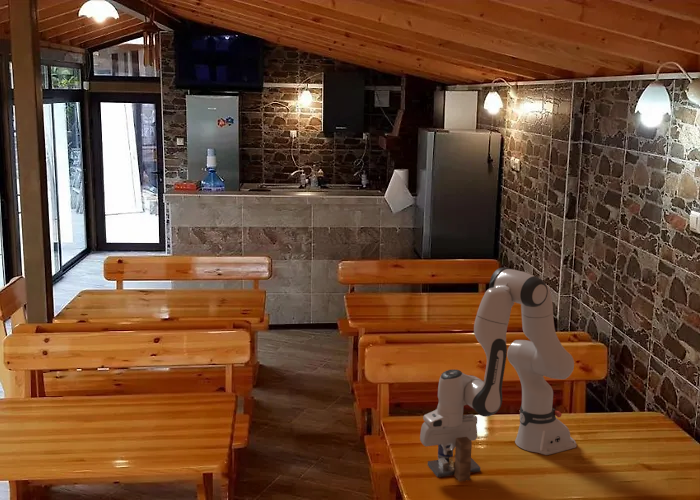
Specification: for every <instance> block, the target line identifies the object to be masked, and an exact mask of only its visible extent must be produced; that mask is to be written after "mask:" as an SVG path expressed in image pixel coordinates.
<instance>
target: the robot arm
mask: <svg viewBox="0 0 700 500" xmlns="http://www.w3.org/2000/svg"><path fill="white" fill-rule="evenodd" d="M488 285H489V286H488V289H487V290H486V291H485V292H484V295H483V296H482V298H481V301H480V303H479V306H478V309H477V312H476V316H475V319H474V322H473V323H474V324H473V334H474V336H475V339H476V340H477V342H478V343H479V344H480V346H481V347H482V349H483V350H484V353H485V356H486V364H485V365H486V366H485V371H484V372H485V373H484V378H483V379H484V380H482V379H481V378H479V377H477V376H475V375H473V374H472V375H471V374H470V375H469V374H465V373H463V372H462V371H461V370H459V369H448V370H445V371H443V372H442V373H441V375H440V377H439V381H438V387H437V398H438V404H437V407H436V408H435V410H433V411H430V412H428V413H425V414H424V415H423V417H422V419H423V423H422V424H421V428H420V435H419V441H420V443H421V444H422V445H423V446H425V447H430V446H431V447H432V446H438V445H441V446H442V447H443V449H444V451H443V453H444V455H450V454H453V455H454V451H455V448H456V438H460V437H468V438H469V439H470V440H471V441H472V442H474V441H476V440H477V438H478V427H477V426H478V417H477V416H476V415H475V414H473V413H471V414H470V413H469V414H464V406H469V407H470V408H472V409H473V410H474V411H475V412H476V413H477V414H478V415H479V416H481V417H486V418H487V417H490V416H493V415H494V414H496V413H497V412H498V411H500V408H501V407H502V405H503V391H502V390H503V381H504V377H505V375H504V374H505V369H506V362H507V360H508V362H509V364H511V365H512V367H513V368H514V370H515V371H516V373H517V376H518V378H519V381H520V384H521V405H520V408H519V427H518V431H517V435H516V438H515V440H514V443H515V444H516V446H518V447H519V448H520V449H522V450H525V451H528V452H532V453H536V454H537V453H539V454H541V455H544V456H548V455H553V454H557V453H560V452H565V451H567V450H571V449H575V448H576V449H577V442H576V440H575V439H574V438H573V437H571V432H570V430H569V427H568V426H566V424H564V423H563V422H562V421H561V420H560V419H558V418H562V416H563V415H562V412H560V411H559V410H556V409H555V408H554V407H553V402H554V390H553V388H552V386H551V385H550V384H549V383H548V382H547V381H546V379H545V378H549V379H556V380H566V379H567V378H569V377H570V376H571V375H572V373H573V372H574V369H575V368H574V367H575V360H574V357H573V355H572V354H571V353H570V352H568V350H566V349H565V347H564V346H563V345H562V343H561V341H560V340H559V337H558V335H557V333H556V327H555V321H554V307H553V300H552V295H551V290H550V288H549V286H548V285H547V283H546V281H544V280H543V279H541V278H540V277H539V276H535V275H532V274H531V273H528V272H526V271H523V270H522V271H521V270H517V269H513V268H511V267H499V268H497V269H496V270H495V271H493V273H492V274H491V277H490V281H489V284H488ZM515 303H516V304H519V305H520V310H521V312H520V313H521V325H522V331H523V334H524V335H525V337H526V338H528V340H526V339H515V340H513V342H511V343H510V345H508V348H507V330H508V325H509V322H510V316H511V312H512V308H513V306H514V305H515ZM544 377H545V378H544ZM449 443H451V446H450V448H446V447H445V446H447V444H449Z"/></svg>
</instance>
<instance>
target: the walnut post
mask: <svg viewBox="0 0 700 500" xmlns="http://www.w3.org/2000/svg"><path fill="white" fill-rule="evenodd" d="M472 442H473V441H471V440H470V439H469V438H468V437H460V438H456V447H455V448H454V451H455V453H454V454H455V455H454V456H455V472H454V475H453V476H454V477H455V478H456V480H457V481H458V482H466V480H467V481H470V480H471V473H470V470H471V458H472V447H473V446H472V445H473V443H472Z"/></svg>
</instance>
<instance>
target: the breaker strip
mask: <svg viewBox="0 0 700 500" xmlns="http://www.w3.org/2000/svg"><path fill="white" fill-rule="evenodd" d="M427 466H428V468H429V469H430V470H431V472H433V474H434V475H435V476H436V477H437V478H443V477H451V476H452V477H453V476H454V472H455V455H453V456H452V457H449V459H445V458H439V459H435V460H428V461H427ZM481 468H482V467H481V466H480V465H479V464H478V463H477V462H476V461H475V459H473V457H471V470H470V474H472V473H471V472H473V473H479V472H481Z"/></svg>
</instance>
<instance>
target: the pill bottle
mask: <svg viewBox="0 0 700 500" xmlns="http://www.w3.org/2000/svg"><path fill="white" fill-rule="evenodd" d="M437 446H438V447H437V460H439V458H445V459H449V457H452V456H454V453H453V454H450V455H444V453H443V451H444V449H443V447H442V446H441V445H437ZM450 446H451V443H449V444H447V446H445V447H446V448H450Z"/></svg>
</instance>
